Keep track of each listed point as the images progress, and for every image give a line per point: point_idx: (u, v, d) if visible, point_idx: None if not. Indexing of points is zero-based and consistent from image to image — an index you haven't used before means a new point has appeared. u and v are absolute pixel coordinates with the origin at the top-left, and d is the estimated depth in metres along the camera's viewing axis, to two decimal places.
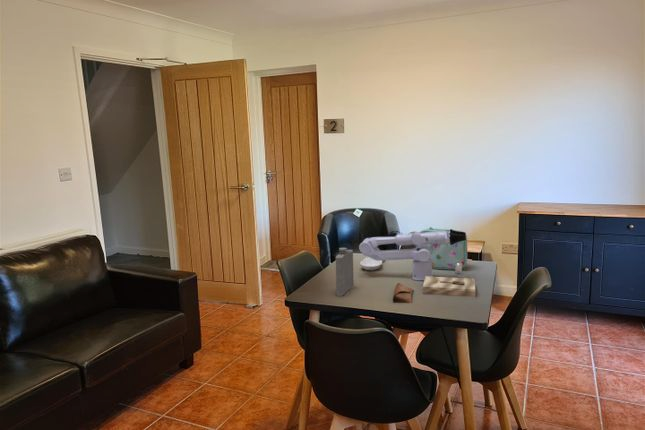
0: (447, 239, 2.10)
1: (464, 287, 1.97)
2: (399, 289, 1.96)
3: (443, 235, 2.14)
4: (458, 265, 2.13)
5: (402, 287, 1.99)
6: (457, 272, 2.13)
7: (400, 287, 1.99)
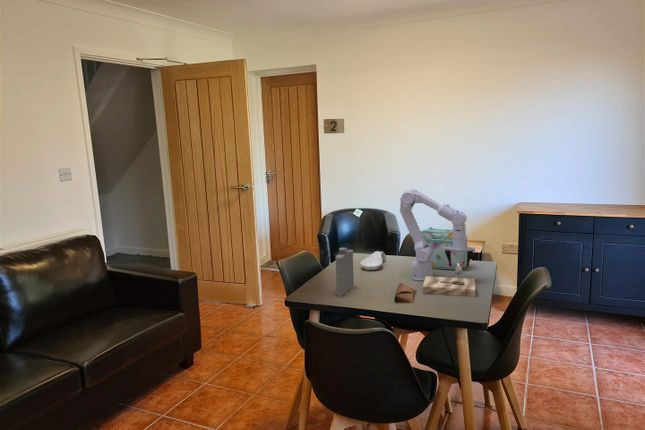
0: (443, 249, 2.15)
1: (464, 287, 1.97)
2: (401, 289, 1.96)
3: (453, 246, 2.12)
4: (458, 265, 2.13)
5: (404, 287, 1.99)
6: (457, 272, 2.13)
7: (402, 287, 1.99)
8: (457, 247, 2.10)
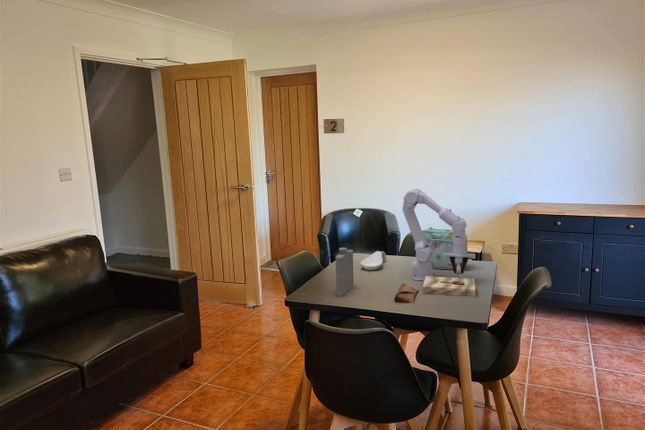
0: None
1: (464, 287, 1.97)
2: (402, 289, 1.96)
3: (453, 252, 2.13)
4: (458, 265, 2.13)
5: (406, 287, 1.99)
6: (457, 272, 2.13)
7: (404, 287, 1.99)
8: (457, 253, 2.11)
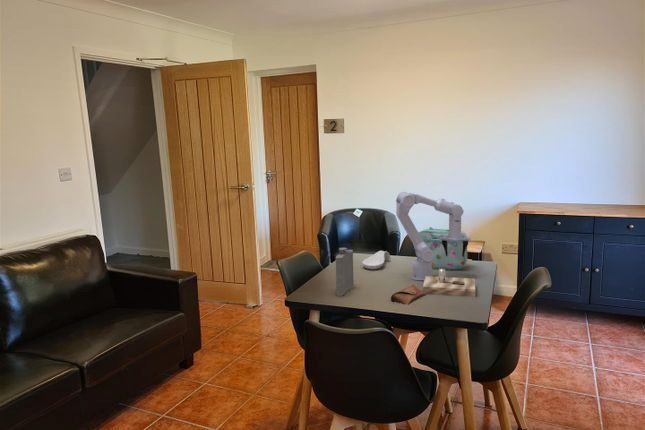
0: None
1: (464, 287, 1.97)
2: (403, 290, 1.95)
3: (449, 236, 2.21)
4: (441, 271, 2.04)
5: (410, 288, 1.97)
6: (440, 279, 2.04)
7: (407, 288, 1.97)
8: (453, 237, 2.19)
